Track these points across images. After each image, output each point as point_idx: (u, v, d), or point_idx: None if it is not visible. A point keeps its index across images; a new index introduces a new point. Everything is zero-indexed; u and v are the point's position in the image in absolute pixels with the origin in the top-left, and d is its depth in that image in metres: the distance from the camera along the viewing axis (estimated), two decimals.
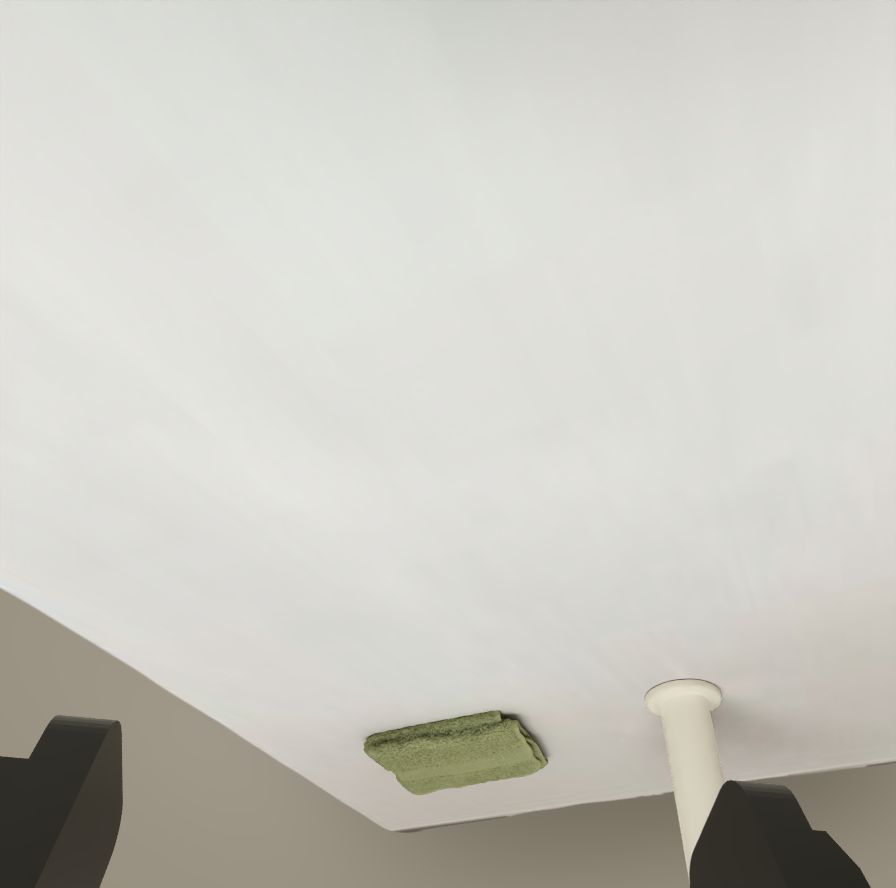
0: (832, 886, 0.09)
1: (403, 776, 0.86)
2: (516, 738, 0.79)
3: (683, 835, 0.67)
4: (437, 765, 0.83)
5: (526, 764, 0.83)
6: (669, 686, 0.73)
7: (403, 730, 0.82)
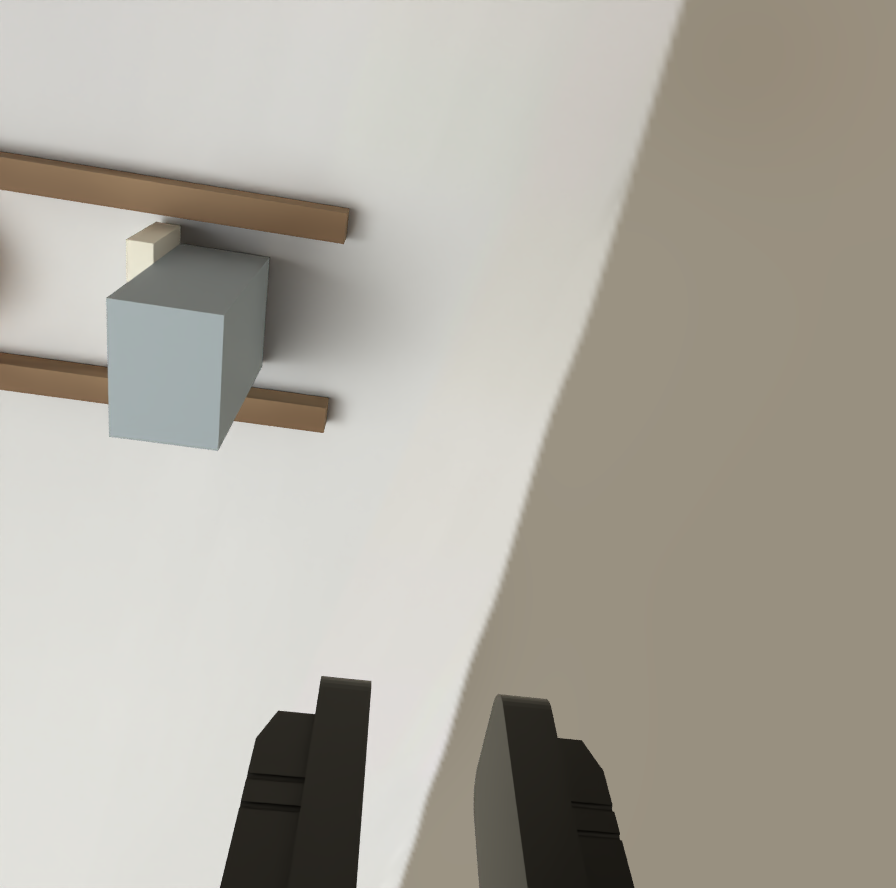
0: (557, 780, 0.10)
1: None
2: None
3: None
4: None
5: None
6: None
7: None
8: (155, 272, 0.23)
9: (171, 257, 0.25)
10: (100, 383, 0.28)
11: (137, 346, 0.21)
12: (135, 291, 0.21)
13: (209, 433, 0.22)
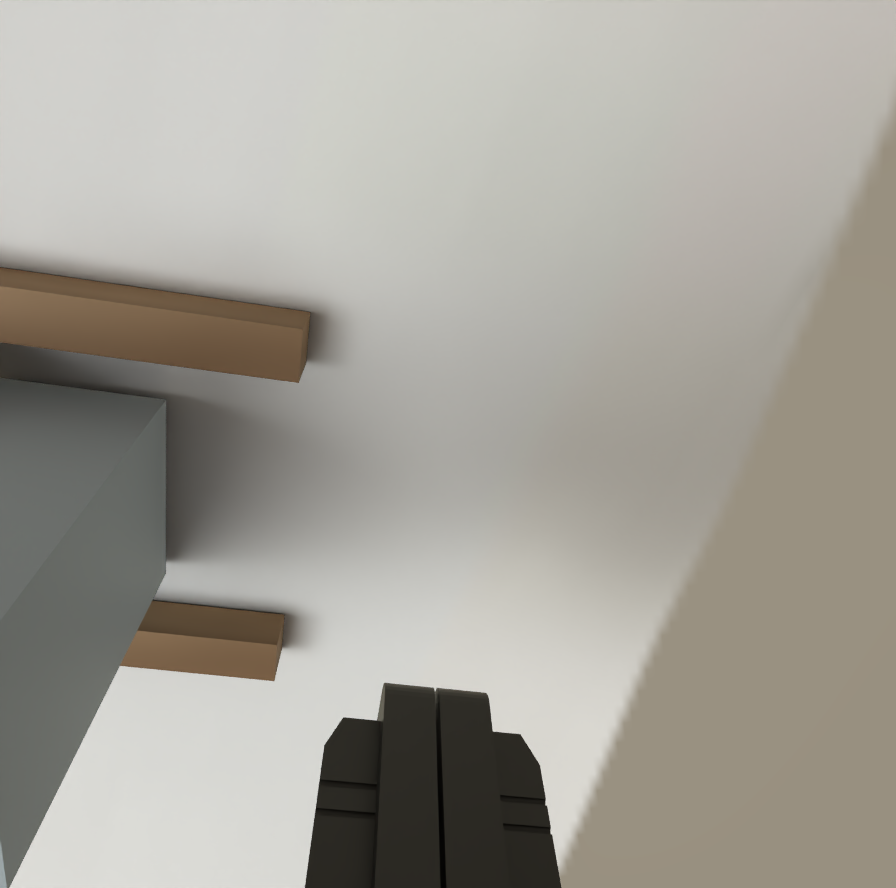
0: (489, 774, 0.10)
1: None
2: None
3: None
4: None
5: None
6: None
7: None
8: None
9: None
10: None
11: None
12: None
13: None
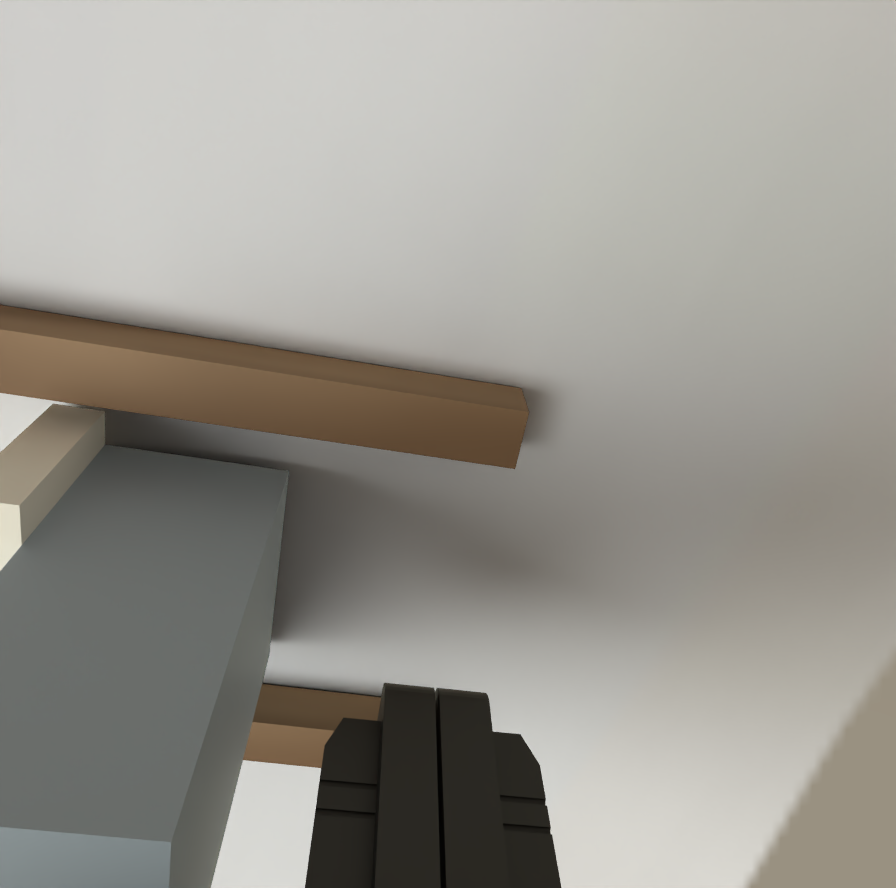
0: (489, 774, 0.10)
1: None
2: None
3: None
4: None
5: None
6: None
7: None
8: (15, 593, 0.09)
9: (73, 508, 0.11)
10: None
11: None
12: None
13: None
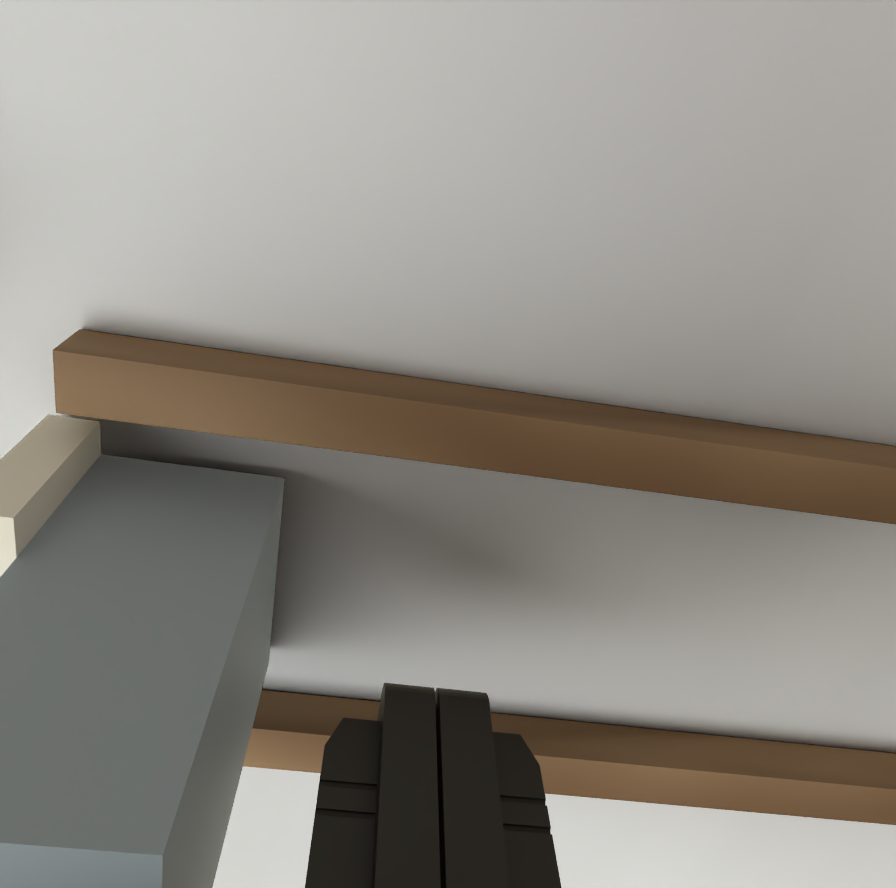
0: (489, 774, 0.10)
1: None
2: None
3: None
4: None
5: None
6: None
7: None
8: (9, 605, 0.09)
9: (68, 519, 0.11)
10: (597, 770, 0.15)
11: None
12: None
13: None
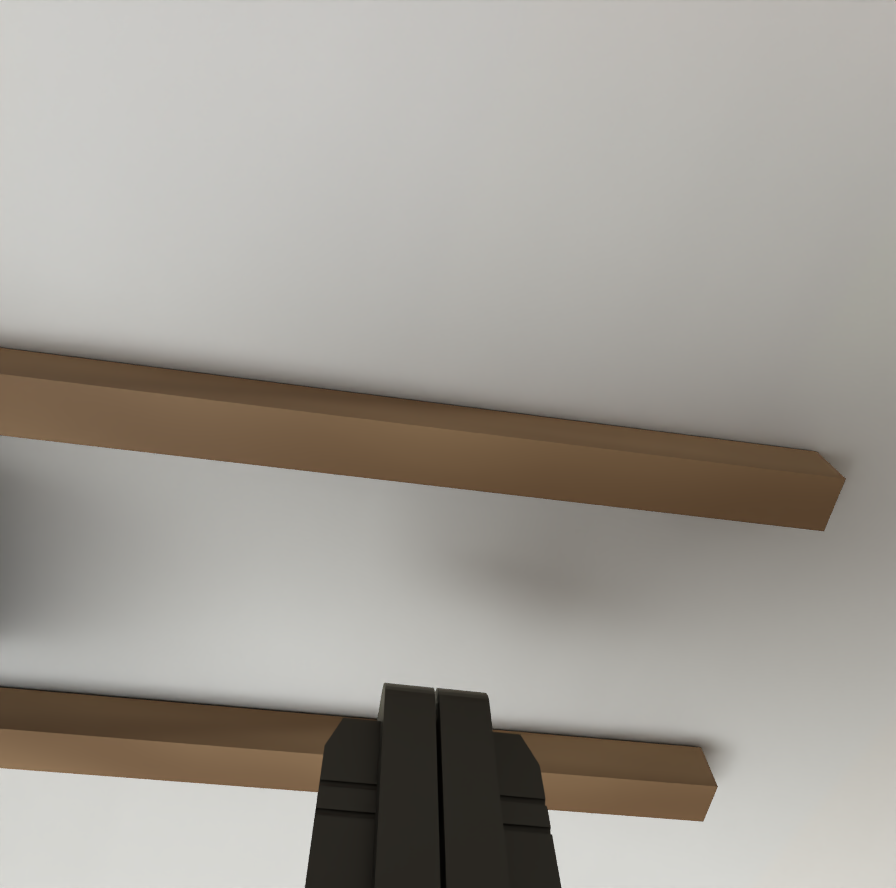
0: (489, 773, 0.10)
1: None
2: None
3: None
4: None
5: None
6: None
7: None
8: None
9: None
10: (314, 763, 0.15)
11: None
12: None
13: None
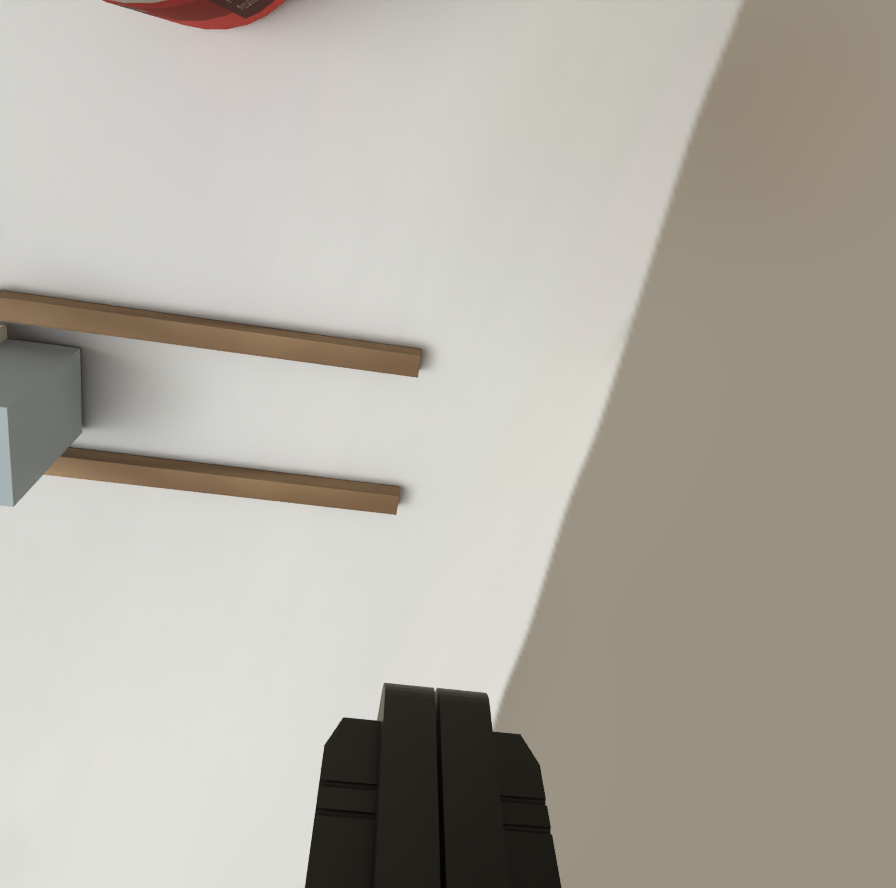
0: (488, 774, 0.10)
1: None
2: None
3: None
4: None
5: None
6: None
7: None
8: None
9: None
10: (226, 481, 0.36)
11: None
12: None
13: (5, 493, 0.29)
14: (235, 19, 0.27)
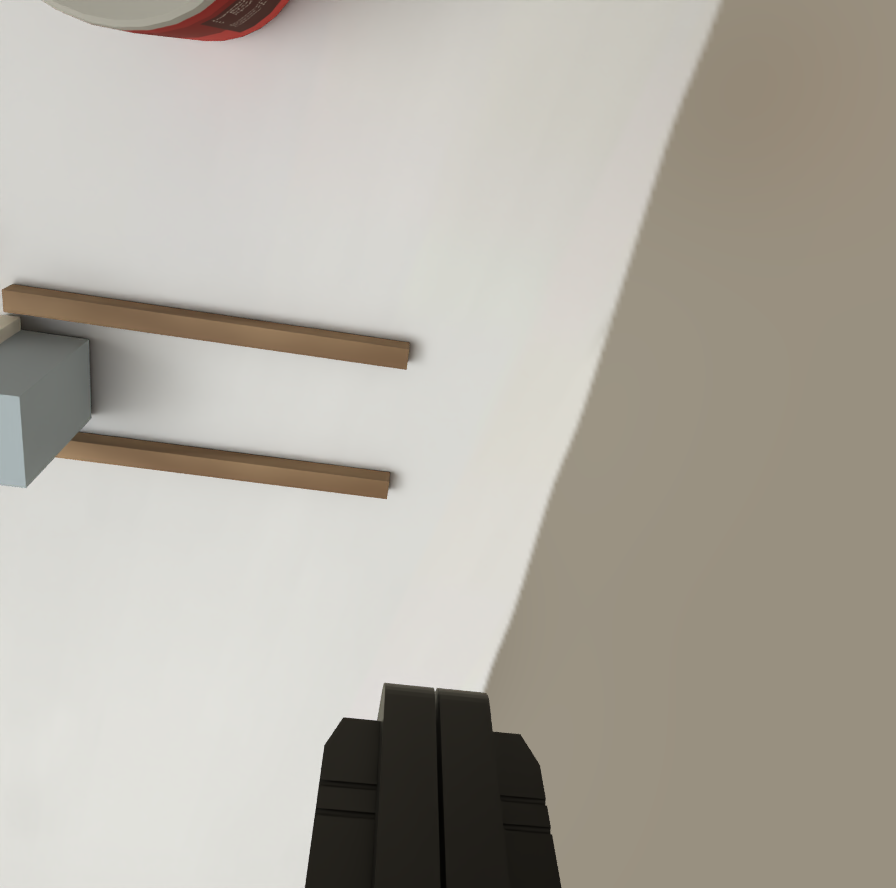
0: (489, 774, 0.10)
1: None
2: None
3: None
4: None
5: None
6: None
7: None
8: None
9: (6, 344, 0.34)
10: (226, 465, 0.38)
11: None
12: None
13: (18, 476, 0.31)
14: (230, 34, 0.28)
